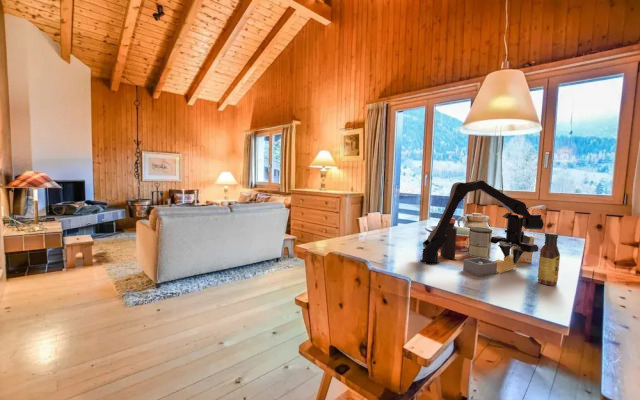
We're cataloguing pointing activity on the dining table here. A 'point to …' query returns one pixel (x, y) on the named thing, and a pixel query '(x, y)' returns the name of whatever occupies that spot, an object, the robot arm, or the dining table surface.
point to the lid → (505, 264)
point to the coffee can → (479, 242)
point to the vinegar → (449, 241)
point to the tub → (480, 266)
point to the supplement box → (525, 255)
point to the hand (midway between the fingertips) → (511, 262)
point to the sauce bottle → (549, 261)
